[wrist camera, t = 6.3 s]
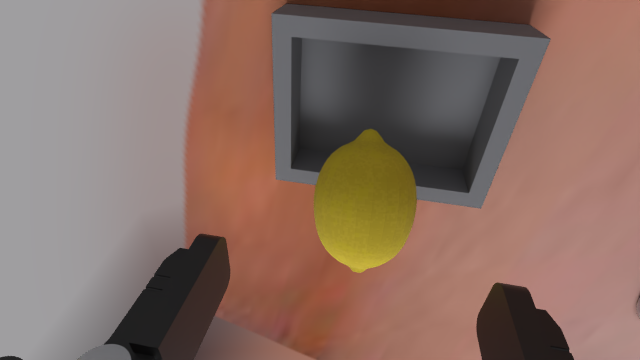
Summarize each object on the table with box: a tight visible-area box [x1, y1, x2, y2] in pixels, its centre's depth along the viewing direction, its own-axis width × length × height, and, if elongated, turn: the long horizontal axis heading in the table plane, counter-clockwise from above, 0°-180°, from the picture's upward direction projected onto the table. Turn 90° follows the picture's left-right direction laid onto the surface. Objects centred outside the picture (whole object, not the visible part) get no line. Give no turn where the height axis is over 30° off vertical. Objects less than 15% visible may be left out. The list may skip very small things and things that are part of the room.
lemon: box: [314, 129, 417, 272], centre depth 20 cm, size 6×6×8 cm
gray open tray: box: [272, 4, 550, 208], centre depth 21 cm, size 13×10×3 cm
